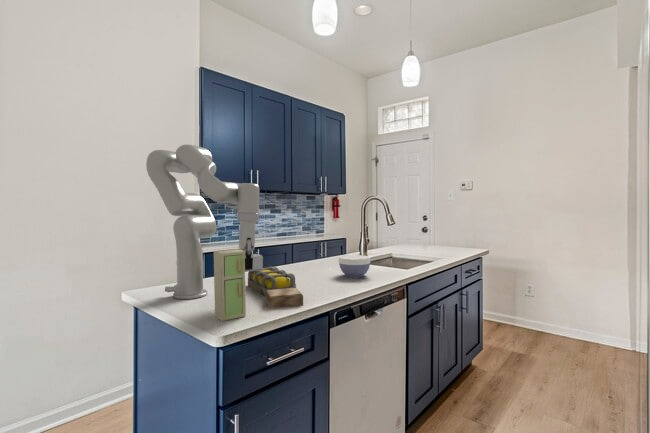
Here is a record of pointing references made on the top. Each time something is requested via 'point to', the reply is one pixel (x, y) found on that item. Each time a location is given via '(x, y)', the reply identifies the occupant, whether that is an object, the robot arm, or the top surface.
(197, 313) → the top surface
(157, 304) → the top surface
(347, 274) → the bowl
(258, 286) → the cage light
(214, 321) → the top surface
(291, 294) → the stand
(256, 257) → the block
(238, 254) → the toy refrigerator
